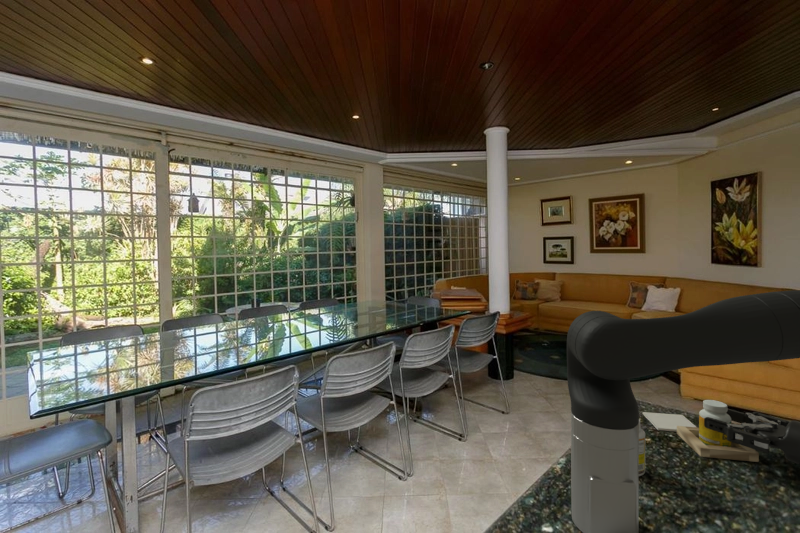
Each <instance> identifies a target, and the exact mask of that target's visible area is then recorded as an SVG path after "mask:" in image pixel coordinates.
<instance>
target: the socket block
mask: <svg viewBox="0 0 800 533" xmlns="http://www.w3.org/2000/svg"><path fill="white" fill-rule="evenodd" d="M676 435H678V436H679V437H680V438H681V439H682V441H684V442H685V443H686V444H687V445H688V446H689V447H690V448H691V449H692V450H693V451H694V452H695V453H696V454H697V455H698V456H699V457H702V458H703V457H704V458H712V459H713V458H714V459H722V460H723V459H725V460H734V461H744V462H746V461H747V462H753V463H754V462H755V463H759V462H760V459H759V456H760V453H759V451H758V450H755V449H752V448H749V447H746V446H743V445H740V444H736V443H733V442H731V447H724V446H713V445H705V444H704V443H703V442H702V441H701V440H699V426H696V427H685V426H677V432H676ZM739 440H741V439H739Z"/></svg>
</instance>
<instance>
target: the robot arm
mask: <svg viewBox="0 0 800 533" xmlns="http://www.w3.org/2000/svg"><path fill="white" fill-rule="evenodd" d="M566 336H567V337H566V372H567V373H566V375H567V376H566V377H567V387H568V388H567V389H568V393H569V398H570V410H571V411H570V465H571V466H570V479H571V481H570V485H571V486H570V492H571V493H570V494H571V495H570V496H571V498H570V501H571V502H570V503H571V519H572V520H571V521H572V522H573V523H574V526H576V528H577V529H578V530H579V531H580V532H581V533H640V532H639V526H640V525H639V520H640V519H639V498H640V497H639V494H640V493H639V492H640V491H639V489H640V488H639V487H640V486H639V484H640V483H639V477H640V476H639V419H640V409H639V404H638V402H637V399H636V397H635V395H634V393H633V392H634V391H633V389H632V386H631V380H632V379H636V378H641V377H646V376H652V375H656V374H660V373H661V374H662V373H665V372H673V371H676V370H682V369H688V368H696V367H709V366H710V367H711V366H712V367H714V366H725V365H726V366H727V365H736V364H746V363H760V362H761V363H763V362H772V361H773V362H775V361H785V360H795V359H800V289H799V290H779V291H778V290H777V291H770V292H769V291H768V292H761V293H755V294H754V293H752V294H747V295H746V294H745V295H739V296H735V297H730V298H726V299H723V300H718V301H716V302H714V303H710V304H708V305H706V306H704V307H701V308H699V309H695V310H694V311H691V312H688V313H685V314H681V315H675V316H666V317H665V316H663V317H651V318H621V317H619V316H617V315H615V314H612V313H610V312H608V311H603V310H590V311H586V312H583V313H581V314H580V315H578V316H577V317H576V318H575V319H574V320H573V321H572V322H571V323H570V325H569V329H568V331H567V335H566ZM727 410H728V411H727V414H728V415H729V416H730V417H731V422H734V423H731V424H728V423H726V422H723V421H720V420H716V419H713V418H710V417H706V418H704V426H705V427H706V428H708V429H711V430H714V431H717V432H720V433H723V434H726V435H727V440H728V441H730V442H733V443H736V444H740V445H743V446H746V447H749V448H752V449H754V450H755V451H757V452H762V453H766V454H769V453H770V448H773V449H774V448H775V449H778V450H780V451H782V452H783V456H784V458H785V459H786V460H787V461H789V462H791V463H795V464H796V465H800V421H798V420H791V421H788V420H785V419H782V418H779V417H775V416H771V415H768V414H764V413H761V412H758V411H753V412H745V413H744V412H741V411H738V410H734V409H731V408H728V407H727ZM735 423H739V424H735ZM739 439H740V440H739Z"/></svg>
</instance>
